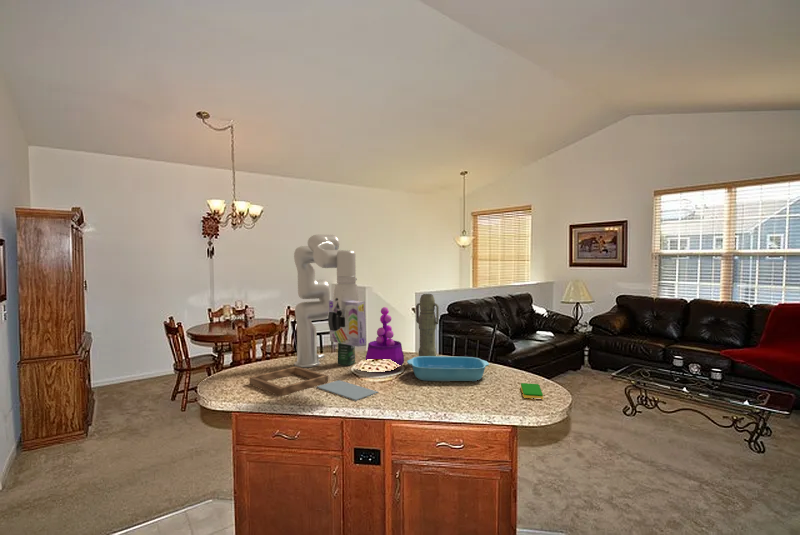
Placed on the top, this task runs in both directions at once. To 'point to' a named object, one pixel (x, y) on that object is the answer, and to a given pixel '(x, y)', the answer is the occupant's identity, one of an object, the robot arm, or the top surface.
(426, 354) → the thermos
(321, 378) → the frame
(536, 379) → the top surface
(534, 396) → the dish sponge
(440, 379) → the casserole dish
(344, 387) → the mat
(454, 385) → the top surface
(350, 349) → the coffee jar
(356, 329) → the cake pan box
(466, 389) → the top surface
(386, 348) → the decorative plant
